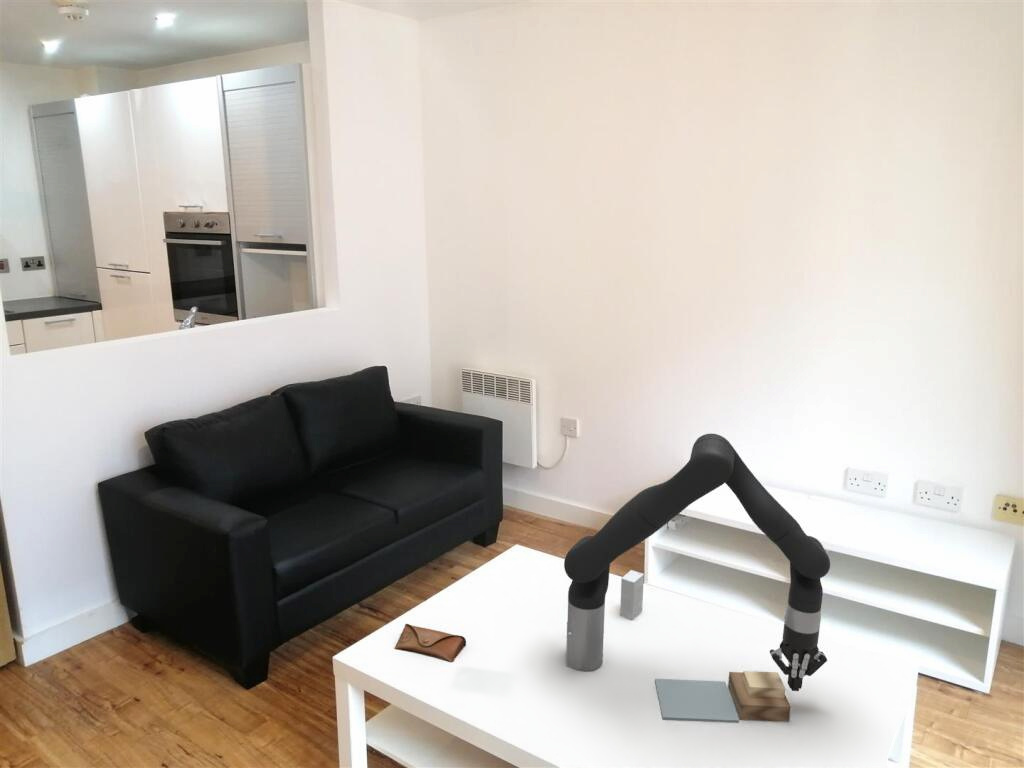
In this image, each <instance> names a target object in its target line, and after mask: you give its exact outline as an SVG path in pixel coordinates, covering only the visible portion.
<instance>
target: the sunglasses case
mask: <svg viewBox="0 0 1024 768" xmlns="http://www.w3.org/2000/svg"><path fill="white" fill-rule="evenodd" d="M466 646H467V640H466V638H465V637H464V636H463V635H459V634H458V635H457V634H451V633H447V632H444V631H441V630H440V631H439V630H436V629H431V628H426V627H420V626H416V625H412V624H410V623H405V624H404V627H403V630H402V631H401V634H400V636H399V639H398V640H397V642H396V644H395V647H393V649H394V650H399V651H406V652H411V653H414V654H420V655H423V656H427V657H432V658H435V659H440V660H442V661H446V662H449V663H454V662H455V659H456V658H457V657H459V656H458V655H460V653H461V652H462V650H464V648H465V647H466Z"/></svg>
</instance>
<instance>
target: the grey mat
mask: <svg viewBox="0 0 1024 768" xmlns="http://www.w3.org/2000/svg"><path fill="white" fill-rule="evenodd" d="M654 683H655V689H656V693H657V698H658V702H659V708H660V712H661V718H662V721H663V720H665V721H666V720H667V721H668V720H670V721H671V720H672V721H686V720H687V721H689V722H691V721H692V722H712V723H713V722H715V723H734V724H735V723H736V724H737V723H739V721H740V719H739V717H738V714H737V711H736V708H735V705H734V702H733V699H732V696H731V693H730V690H729V688H728V684H727V682H726V681H724V680H723V681H721V680H702V679H701V680H697V679H678V678H677V679H674V678H671V679H670V678H655V679H654Z"/></svg>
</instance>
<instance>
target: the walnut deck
mask: <svg viewBox="0 0 1024 768" xmlns="http://www.w3.org/2000/svg"><path fill="white" fill-rule="evenodd" d="M743 672H744V671H743ZM743 672H742V671H740V672H739V671H729V672H728V683H727V688H728V691H729V694H730V697H731V700H732V703H733V705H734V708H735V711H736V714H737V717H738V720H739V721H757V722H759V721H760V722H779V723H781V722H783V723H789V721H790V717H791V716H790V714H791V708H792V707H791V704H790V703H789V700H788V698H787V696H786V695H785V698H771V697H749V695H748V693H747V690H746V687H745V685H744V682H743Z"/></svg>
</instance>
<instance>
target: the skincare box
mask: <svg viewBox="0 0 1024 768" xmlns="http://www.w3.org/2000/svg"><path fill="white" fill-rule="evenodd" d="M644 577H645V574H644V573H643V572H638V571H635V570H632V569H630V570H629V571H628V572H627V573H626V574H625V575H624V576H622V577H621V582H620V583H621V584H620V587H621V588H620V610H619V612H620V613H619V614H620V615H619V616H620V617H623V618H625V619H628V620H630V621H634V620H635V619H636V618H637V617H638V616H639V615H640V614H641V613H642V612H643V606H644V605H643V603H644V601H643V600H644V579H645V578H644Z"/></svg>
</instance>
